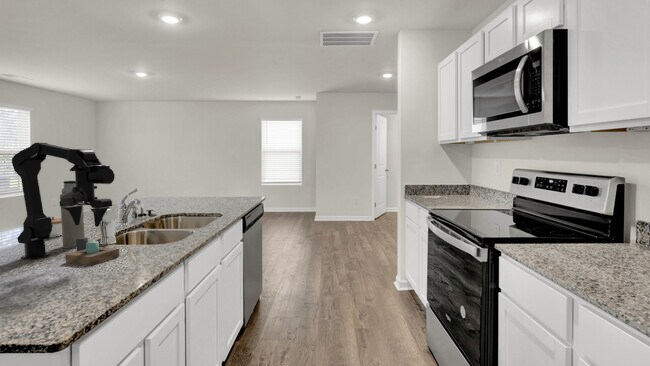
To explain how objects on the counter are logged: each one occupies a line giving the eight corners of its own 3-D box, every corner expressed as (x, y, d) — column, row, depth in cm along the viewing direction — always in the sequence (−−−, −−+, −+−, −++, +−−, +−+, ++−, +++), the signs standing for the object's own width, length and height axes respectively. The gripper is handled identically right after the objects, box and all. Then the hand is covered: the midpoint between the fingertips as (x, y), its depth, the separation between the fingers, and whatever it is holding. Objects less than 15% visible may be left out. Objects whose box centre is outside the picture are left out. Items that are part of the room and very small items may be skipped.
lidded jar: (34, 238, 179) (33, 218, 179) (54, 233, 190) (53, 214, 189) (54, 238, 177) (53, 219, 177) (73, 234, 188) (71, 215, 187)
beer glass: (103, 245, 163) (101, 211, 162) (96, 243, 167) (94, 209, 166) (120, 242, 169) (118, 209, 168) (112, 240, 173) (111, 207, 172)
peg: (84, 260, 140) (83, 243, 139) (93, 257, 144) (92, 240, 143) (92, 261, 139) (91, 244, 138) (102, 258, 143) (101, 241, 142)
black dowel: (74, 254, 149) (73, 239, 149) (83, 251, 153) (82, 237, 152) (82, 255, 148) (81, 239, 148) (91, 252, 152) (90, 237, 151)
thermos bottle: (79, 242, 169) (76, 180, 167) (88, 245, 164) (85, 180, 162) (59, 246, 162) (55, 181, 160) (68, 248, 158) (64, 181, 156)
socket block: (66, 262, 137) (65, 254, 137) (94, 254, 149) (94, 246, 149) (92, 265, 134) (91, 256, 134) (119, 256, 145) (119, 248, 145)
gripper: (43, 184, 134) (46, 228, 135) (85, 186, 128) (87, 231, 130) (72, 182, 144) (74, 223, 145) (112, 183, 139) (114, 225, 140)
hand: (87, 225), depth 140 cm, fingers open, 9 cm apart
